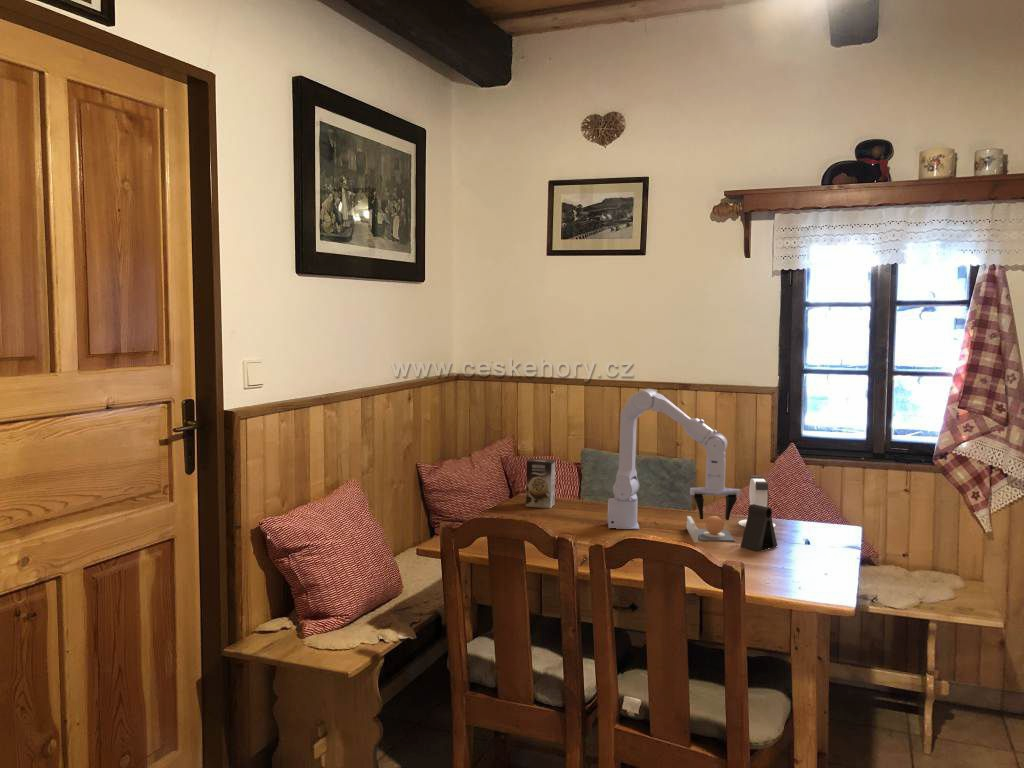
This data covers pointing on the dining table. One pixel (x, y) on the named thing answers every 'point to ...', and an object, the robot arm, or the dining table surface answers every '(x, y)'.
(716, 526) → the ball
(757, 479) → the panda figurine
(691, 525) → the fence
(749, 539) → the phone stand
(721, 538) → the mat
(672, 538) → the dining table surface
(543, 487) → the coffee box
